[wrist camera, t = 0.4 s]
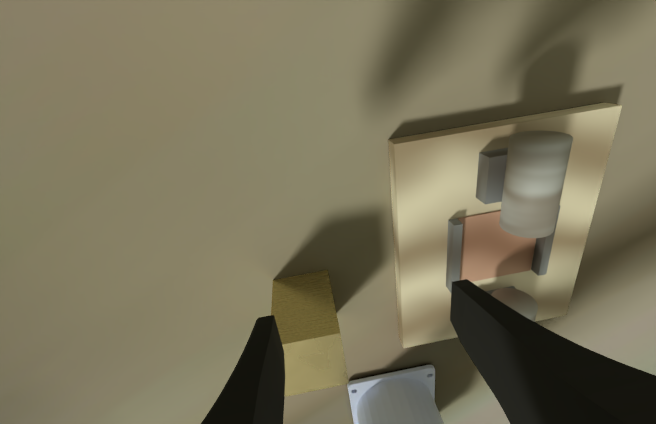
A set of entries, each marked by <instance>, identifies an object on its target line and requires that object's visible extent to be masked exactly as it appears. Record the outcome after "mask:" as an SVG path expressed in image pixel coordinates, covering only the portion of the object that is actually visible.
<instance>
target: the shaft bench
mask: <svg viewBox="0 0 656 424" xmlns="http://www.w3.org/2000/svg"><path fill="white" fill-rule="evenodd" d="M621 108H622V105H617V104H611V103H599V104H593V105H587V106H581V107H575V108H570V109H564V110H558V111H552V112H546V113H540V114H535V115H529V116H523V117H517V118H511V119H505V120H499V121H494V122H488V123H482V124H476V125H470V126H464V127H458V128H453V129H447V130H441V131H435V132H429V133H423V134H417V135H412V136H406V137H400V138H394V139H388V143H389V162H390V180H391V199H392V218H393V236H394V255H395V274H396V292H397V311H398V330H399V338H400V341H401V343H402V346H403V348H407V347H412V346H417V345H422V344H427V343H432V342H437V341H442V340H446V339H451V338H456V337H458V336H457V334H456V332H455V329H454V327H453V325H452V323H451V321H450V310H451V290H452V282H454V281H459V280H465V279H467V280H469V281H470V282H472V283H473V284H475V285H476V286H478V287H479V288H481V289H483V290H484V291H486V292H487V293H489V294H490V295H492V296H493V297H495V298H496V299H498V300H499V301H501V302H502V303H504V304H505V305H507V306H509V307H510V308H512V309H513V310H515V311H517V312H518V313H520V314H522V315H523V316H525V317H527V318H528V319H530V320H532V321H534V322H535V321H540V320H545V319H550V318H555V317H560V316H565V315H567V311H568V307H569V304H570V300H571V296H572V292H573V289H574V285H575V281H576V277H577V274H578V270H579V266H580V262H581V259H582V255H583V251H584V247H585V244H586V240H587V236H588V232H589V228H590V225H591V221H592V217H593V213H594V210H595V206H596V202H597V198H598V195H599V191H600V187H601V183H602V180H603V176H604V172H605V168H606V165H607V161H608V157H609V153H610V150H611V146H612V142H613V138H614V134H615V131H616V127H617V123H618V119H619V116H620V112H621Z"/></svg>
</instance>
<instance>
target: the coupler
mask: <svg viewBox="0 0 656 424" xmlns="http://www.w3.org/2000/svg"><path fill="white" fill-rule="evenodd" d="M271 315H274V317H275V320H276V324H277V328H278V331H279V335H280V339H281V342H282V346H283V350H284V360H285V397H286V396H291V395H296V394H301V393H305V392H310V391H315V390H320V389H325V388H330V387H334V386H339V385H344V384H349V382H348V376H347V370H346V364H345V358H344V352H343V347H342V341H341V335H340V329H339V324H338V319H337V315H336V310H335V305H334V300H333V295H332V290H331V285H330V280H329V275H328V270H324V271H319V272H313V273H308V274H303V275H297V276H292V277H287V278H282V279H276V280H273V289H272V309H271Z"/></svg>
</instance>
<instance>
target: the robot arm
mask: <svg viewBox="0 0 656 424" xmlns="http://www.w3.org/2000/svg"><path fill="white" fill-rule="evenodd" d="M450 321H451V323H452V325H453V327H454V329H455V332H456V334H457V336H458V338H459V340H460V342H461V344H462V345H463V347H464V348H465V350H466V352H467V353H468V355H469V356H470V358H471V359H472V361H473V363H474V364H475V366H476V367H477V369H478V370H479V372H480V373H481V375H482V376H483V378H484V380H485V381H486V383H487V384H488V386H489V387H490V389H491V390H492V392H493V393H494V395H495V397H496V398H497V400H498V402H499V403H500V405H501V407H502V408H503V410H504V412H505V414H506V416H507V418H508V420H509V422H510V424H656V376H655V375H652V374H649V373H647V372H644V371H641V370H638V369H636V368H633V367H630V366H628V365H625V364H622V363H620V362H617V361H615V360H612V359H610V358H607V357H605V356H603V355H600V354H598V353H596V352H593V351H591V350H589V349H587V348H584V347H582V346H580V345H578V344H576V343H574V342H572V341H570V340H568V339H565V338H563V337H561V336H559V335H557V334H555V333H554V332H552V331H550V330H548V329H546V328H544V327H542V326H541V325H539V324H537V323H535V322H534V321H532V320H530V319H528V318H527V317H525V316H523V315H522V314H520V313H518V312H517V311H515V310H513V309H512V308H510V307H509V306H507V305H505V304H504V303H502V302H501V301H499V300H498V299H496V298H495V297H493V296H492V295H490V294H489V293H487V292H486V291H484V290H483V289H481V288H479V287H478V286H476V285H475V284H473V283H472V282H470V281H469V280H467V279H465V280H459V281H454V282H452V290H451V310H450ZM347 386H348V392H349V398H350V403H351V409H352V415H353V421H354V424H444V422H443V420H442V418H441V415H440V413H439V411H438V408H437V406H436V404H435V368H434V366H433V365H425V366H420V367H415V368H410V369H405V370H401V371H396V372H391V373H386V374H381V375H376V376H372V377H367V378H362V379H357V380H352V381H350V382H349V384H348V385H347ZM284 394H285V360H284V350H283V346H282V342H281V339H280V335H279V331H278V328H277V324H276V320H275V317H274V315H271V316H266V317H261V318H258V319H257V320H256V323H255V326H254V328H253V331H252V333H251V335H250V338H249V340H248V342H247V344H246V347H245V349H244V351H243V353H242V355H241V357H240V359H239V361H238V363H237V365H236V367H235V369H234V371H233V373H232V374H231V376H230V378H229V380H228V382H227V383H226V385H225V387H224V389H223V390H222V392H221V394H220V395H219V397H218V399H217V400H216V402H215V403H214V405H213V407H212V408H211V410H210V411H209V413H208V414H207V416H206V417H205V419H204V420H203V421H202V423H201V424H283V411H284Z"/></svg>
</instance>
